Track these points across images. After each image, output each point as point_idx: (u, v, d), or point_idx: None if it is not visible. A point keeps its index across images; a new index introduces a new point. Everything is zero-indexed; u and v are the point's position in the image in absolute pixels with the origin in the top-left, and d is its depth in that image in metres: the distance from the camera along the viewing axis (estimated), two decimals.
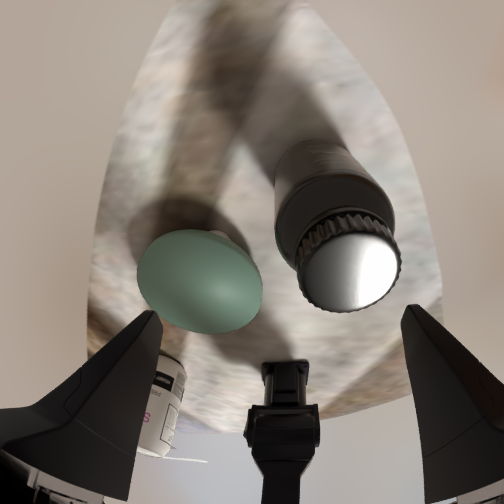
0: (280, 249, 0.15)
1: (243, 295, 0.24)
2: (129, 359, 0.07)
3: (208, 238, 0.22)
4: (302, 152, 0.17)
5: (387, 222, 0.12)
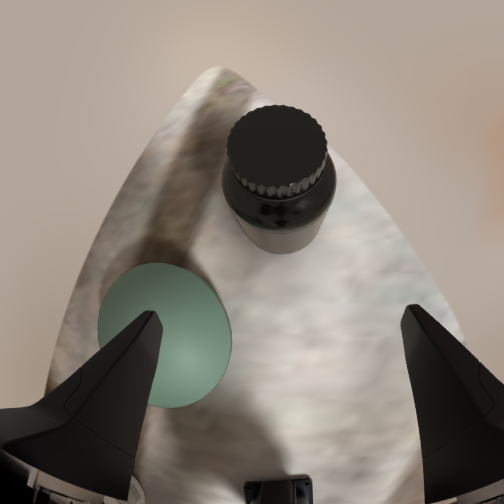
0: (225, 192, 0.15)
1: (207, 339, 0.19)
2: (129, 359, 0.07)
3: (174, 265, 0.21)
4: None
5: None
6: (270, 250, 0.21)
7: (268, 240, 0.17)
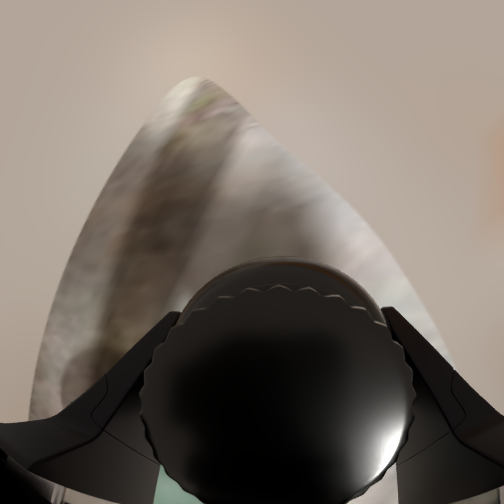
0: None
1: (184, 491, 0.11)
2: None
3: None
4: None
5: None
6: None
7: None
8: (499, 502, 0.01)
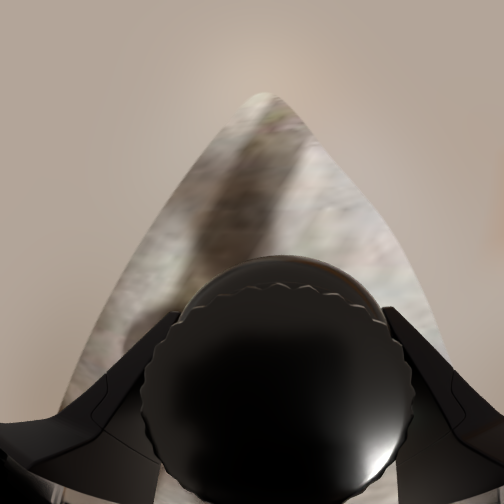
0: None
1: None
2: None
3: None
4: None
5: None
6: None
7: None
8: (499, 502, 0.01)
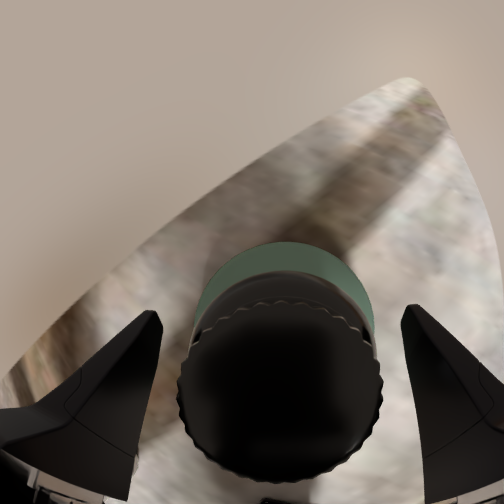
0: None
1: None
2: (129, 359, 0.07)
3: (344, 264, 0.17)
4: None
5: None
6: None
7: None
8: None
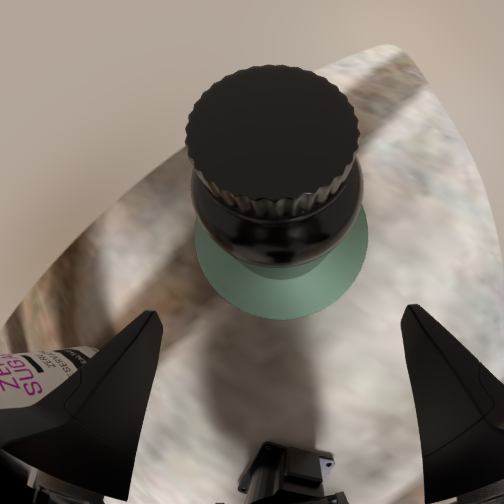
0: (195, 205, 0.10)
1: (340, 254, 0.17)
2: (129, 359, 0.07)
3: None
4: None
5: None
6: (266, 277, 0.16)
7: (261, 271, 0.12)
8: None
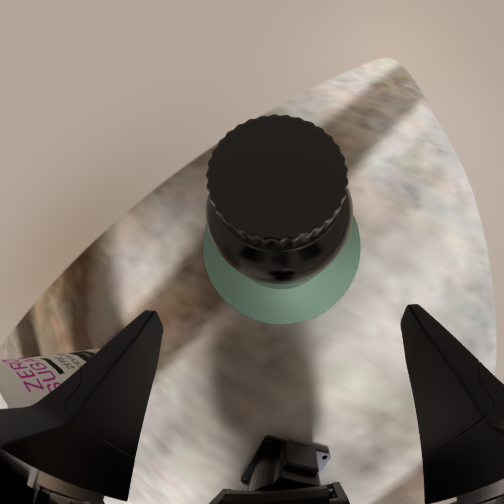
0: (210, 231, 0.12)
1: (335, 266, 0.19)
2: (129, 359, 0.07)
3: None
4: None
5: None
6: (268, 287, 0.18)
7: (265, 284, 0.14)
8: None
